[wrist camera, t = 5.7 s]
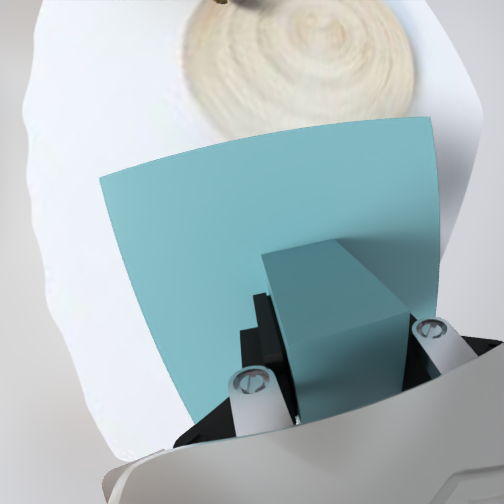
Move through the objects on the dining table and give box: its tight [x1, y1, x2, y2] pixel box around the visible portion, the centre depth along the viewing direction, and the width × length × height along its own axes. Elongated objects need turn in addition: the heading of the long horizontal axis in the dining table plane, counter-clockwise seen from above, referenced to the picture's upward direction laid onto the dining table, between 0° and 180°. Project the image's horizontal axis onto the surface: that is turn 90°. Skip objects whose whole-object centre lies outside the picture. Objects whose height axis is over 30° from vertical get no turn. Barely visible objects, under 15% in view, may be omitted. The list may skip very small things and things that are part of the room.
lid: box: [99, 117, 440, 424], centre depth 11 cm, size 14×14×8 cm
